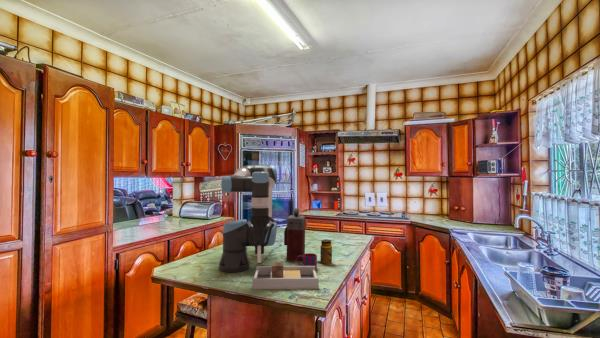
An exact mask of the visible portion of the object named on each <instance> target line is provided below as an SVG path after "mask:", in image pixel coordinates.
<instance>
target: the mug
mask: <svg viewBox="0 0 600 338" xmlns="http://www.w3.org/2000/svg"><path fill="white" fill-rule="evenodd" d="M299 256H301V257H302V258H303V262H302V264H301V262H298V257H299ZM299 256H298V257H297V261H296V263H297V265H298V266H315V271H316V270H317V269H318V264H317V261H318V255H317V253H314V252H307V253H305V254H304V255H303V256H302V255H299Z"/></svg>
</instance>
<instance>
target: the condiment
mask: <svg viewBox="0 0 600 338" xmlns="http://www.w3.org/2000/svg"><path fill="white" fill-rule="evenodd" d="M320 241H321V245H320V260H317V266H319V267H320V266H321V267H322V266H334V265H335V263H333V261H332V260H333V246H332V241H331V240H330V239H322V240H320Z"/></svg>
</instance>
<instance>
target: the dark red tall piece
mask: <svg viewBox="0 0 600 338" xmlns="http://www.w3.org/2000/svg"><path fill="white" fill-rule="evenodd" d="M299 212H300V210H299V208H298V207H294V208H293V214H291V215H289V216H288V217H287V218H286V227H285V228H284V231H283V245H284V246H286V261H287V262H297V257H298V256H299V255H302V256H303V255H304V254H306V253H305V252H306V251H305V250H306V216H305V215H299V214H300V213H299ZM298 262H299V263H301V262H302V263H303V258H302V257H301V256H299V257H298Z"/></svg>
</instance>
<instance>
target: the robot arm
mask: <svg viewBox="0 0 600 338" xmlns="http://www.w3.org/2000/svg"><path fill="white" fill-rule="evenodd" d="M220 183H221V184H220V185H221V191H222V192H224V193H251V202H250V203H251V212H250V213H251V217H250V220H249V221H248V219H240V218H239V219H234V220H230V221H226V222H225V223H223V226H222V253H221V257H220V260H219V262H218V270H219V271H221V272H223V273H240V272H244V271H247V270H249V269H250V267H251V261H250V258H249V255H248V251H247V250H248V248H247V247H254V254H255V255H257V261H256V263H258V264H260V263H262V255H264V253H265V247H266V248H267V247H271V246H274V245H275V243H276V240H277V233H278V223H277V222H275V219H274V218H273V217H272V216H273V213H272V212H273V188H275V185H277V184H278V171H277V167H276V166H275V165H274V164H249V165H248V164H247V165H243V166H241V167H238V168H237V169H235V172H234V174H233V175H225V176H224V175H223V176H222V178H221V182H220Z"/></svg>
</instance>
